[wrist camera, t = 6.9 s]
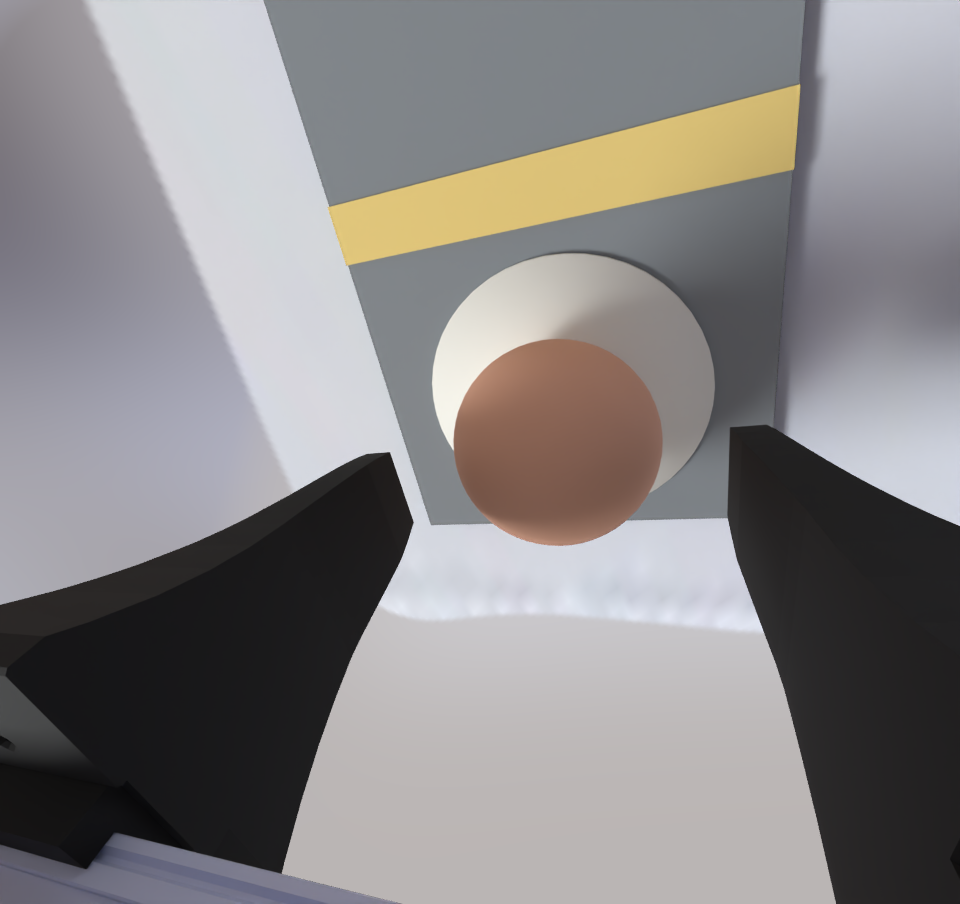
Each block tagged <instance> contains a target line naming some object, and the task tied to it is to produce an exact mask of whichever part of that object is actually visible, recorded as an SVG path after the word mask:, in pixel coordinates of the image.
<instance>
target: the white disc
mask: <svg viewBox="0 0 960 904" xmlns="http://www.w3.org/2000/svg"><path fill="white" fill-rule="evenodd" d="M548 339H570V340H576V341H581V342H586V343H589V344H592V345H595V346H598V347H600V348H602V349H604V350H606V351H609V352H610V353H612V354H614V355H615V356H617V357H618V358H620V359H621V360H622V361H624V362H625V363H626V364H627V365H628V366H629V367H631V368H632V370H633V371H634V372H635V373H636V374H637V375H638V376H639V377H640V379H641V380H642V381H643V382H644V384H645V385H646V387H647V388H648V390H649V391H650V393H651V396H652V398H653V400H654V402H655V404H656V407H657V410H658V414H659V417H660V421H661V427H662V436H663V446H662V457H661V462H660V467H659V471H658V474H657V477H656V480H655V482H654V485H653V486H652V488H651V490H650V492H649V493H651V492H652V491H654V490H656V489H657V488H659V487H660V486H661V485H663V484H664V483H665V482H667V481H668V480H669V479H671V478H672V477H673V476H674V475H675V474H676V473H677V472H678V471H679V470H680V469H681V468H682V467H683V466H684V465H685V463H686V462H687V461H688V460H689V458H690V457H691V456H692V454H693V453H694V452H695V450H696V448H697V446H698V445H699V443H700V441H701V440H702V438H703V435H704V433H705V430H706V428H707V426H708V423H709V420H710V416H711V412H712V408H713V403H714V391H715V379H714V367H713V362H712V358H711V353H710V349H709V346H708V344H707V341H706V339H705V337H704V334H703V332H702V329H701V328H700V326H699V324H698V323H697V321H696V319H695V318H694V316H693V314H692V313H691V311H690V310H689V309H688V308H687V306H686V305H685V304H684V303H683V302H682V300H681V299H680V298H679V297H678V296H677V295H676V294H675V293H674V292H673V291H672V290H671V289H669V288H668V287H667V286H666V285H665V284H664V283H663V282H661V281H660V280H658V279H656V278H655V277H653V276H652V275H650V274H649V273H647V272H646V271H644V270H642V269H639V268H637V267H635V266H633V265H631V264H629V263H626V262H623V261H620V260H617V259H613V258H610V257H607V256H600V255H594V254H587V253H560V254H552V255H544V256H540V257H536V258H532V259H529V260H525V261H522V262H520V263H518V264H515V265H513V266H510V267H508V268H506V269H504V270H502V271H501V272H499V273H497V274H496V275H494V276H492V277H491V278H489V279H488V280H486V281H485V282H484V283H483V284H481V285H480V286H479V287H478V288H476V289H475V290H474V291H473V292H472V293H471V294H470V295H469V296H468V297H467V298H466V299H465V300H464V301H463V302H462V304H461V305H460V306H459V307H458V309H457V310H456V311H455V313H454V314H453V316H452V317H451V319H450V320H449V322H448V324H447V326H446V328H445V330H444V332H443V334H442V336H441V339H440V342H439V344H438V347H437V350H436V355H435V360H434V365H433V376H432V389H433V400H434V405H435V410H436V414H437V417H438V420H439V423H440V426H441V429H442V431H443V433H444V435H445V437H446V439H447V441H448V443H449V444H450V446H451V447H452V449H453V450H454V444H453V438H454V428H455V422H456V418H457V414H458V410H459V408H460V406H461V403H462V401H463V399H464V396H465V394H466V393H467V391H468V389H469V388H470V386H471V384H472V383H473V382H474V381H475V379H476V378H477V377H478V376H479V374H480V373H481V372H482V371H483V370H484V369H485V368H486V367H487V366H488V365H489V364H490V363H492V362H493V361H494V360H496V359H497V358H499V357H500V356H502V355H503V354H505V353H507V352H509V351H511V350H513V349H515V348H517V347H519V346H522V345H525V344H527V343H530V342H535V341H540V340H548Z"/></svg>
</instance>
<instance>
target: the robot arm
mask: <svg viewBox="0 0 960 904" xmlns="http://www.w3.org/2000/svg"><path fill="white" fill-rule="evenodd" d="M727 516H728V521H729V526H730V530H731V535H732V540H733V544H734V549H735V553H736V557H737V561H738V564H739V566H740V569H741V572H742V575H743V577H744V580H745V583H746V585H747V588H748V591H749V593H750V596H751V599H752V601H753V604H754V607H755V609H756V612H757V615H758V617H759V620H760V623H761V625H762V628H763V631H764V633H765V636H766V639H767V641H768V644H769V647H770V649H771V652H772V655H773V657H774V660H775V663H776V665H777V668H778V671H779V675H780V677H781V681H782V683H783V687H784V689H785V694H786V697H787V701H788V705H789V709H790V713H791V717H792V720H793V724H794V728H795V732H796V736H797V740H798V744H799V748H800V752H801V756H802V760H803V764H804V768H805V772H806V776H807V780H808V784H809V788H810V793H811V797H812V801H813V805H814V809H815V813H816V817H817V821H818V826H819V830H820V834H821V839H822V843H823V848H824V852H825V856H826V861H827V865H828V870H829V874H830V878H831V883H832V887H833V891H834V896H835V900H836V904H960V526H958V525H956V524H953V523H951V522H949V521H946V520H944V519H941V518H939V517H937V516H934V515H932V514H930V513H928V512H925V511H923V510H921V509H919V508H917V507H915V506H912V505H910V504H908V503H906V502H904V501H902V500H900V499H898V498H896V497H894V496H892V495H890V494H888V493H886V492H884V491H882V490H880V489H878V488H876V487H874V486H872V485H870V484H868V483H867V482H865V481H863V480H861V479H859V478H857V477H856V476H854V475H852V474H850V473H848V472H846V471H845V470H843V469H841V468H839V467H838V466H836V465H834V464H832V463H831V462H829V461H827V460H826V459H824V458H822V457H821V456H819V455H817V454H816V453H814V452H812V451H811V450H809V449H807V448H806V447H804V446H802V445H801V444H799V443H797V442H796V441H794V440H793V439H791V438H789V437H788V436H786V435H784V434H783V433H781V432H779V431H778V430H776V429H774V428H772V427H770V426H768V425H754V426H741V427H730V439H729V473H728V508H727ZM413 523H414V522H413V519H412V516H411V513H410V510H409V507H408V504H407V501H406V499H405V496H404V493H403V490H402V487H401V484H400V481H399V478H398V475H397V472H396V469H395V466H394V463H393V460H392V457H391V454H390V452H387V453H374V454H366V455H363V456H361V457H358V458H356V459H354V460H352V461H350V462H348V463H346V464H344V465H342V466H340V467H338V468H336V469H335V470H333V471H331V472H329V473H328V474H326V475H324V476H322V477H320V478H319V479H317V480H315V481H313V482H312V483H310V484H308V485H306V486H305V487H303V488H301V489H300V490H298V491H296V492H294V493H293V494H291V495H289V496H287V497H286V498H284V499H282V500H280V501H278V502H276V503H274V504H272V505H271V506H269V507H267V508H265V509H263V510H261V511H259V512H258V513H256V514H254V515H252V516H250V517H248V518H246V519H244V520H242V521H240V522H238V523H236V524H234V525H232V526H230V527H228V528H226V529H224V530H222V531H220V532H217V533H215V534H213V535H211V536H209V537H206V538H204V539H202V540H200V541H197V542H195V543H193V544H190V545H188V546H185V547H183V548H180V549H178V550H175V551H172V552H170V553H167V554H164V555H162V556H160V557H157V558H154V559H152V560H149V561H147V562H144V563H141V564H139V565H136V566H133V567H130V568H127V569H124V570H121V571H118V572H115V573H112V574H109V575H106V576H103V577H100V578H97V579H93V580H90V581H87V582H83V583H80V584H77V585H74V586H70V587H67V588H63V589H60V590H56V591H53V592H49V593H45V594H41V595H37V596H33V597H30V598H25V599H22V600H18V601H14V602H10V603H6V604H2V605H0V904H400V903H397V902H392V901H388V900H384V899H380V898H376V897H372V896H368V895H364V894H360V893H356V892H352V891H348V890H344V889H340V888H336V887H332V886H328V885H324V884H320V883H316V882H312V881H308V880H304V879H300V878H296V877H292V876H288V875H284V874H282V870H283V866H284V862H285V858H286V854H287V851H288V847H289V843H290V840H291V836H292V832H293V829H294V825H295V821H296V818H297V814H298V811H299V807H300V803H301V800H302V796H303V793H304V790H305V787H306V784H307V781H308V778H309V774H310V771H311V768H312V765H313V762H314V758H315V755H316V752H317V749H318V746H319V743H320V740H321V737H322V734H323V732H324V729H325V726H326V723H327V720H328V717H329V715H330V712H331V709H332V706H333V703H334V701H335V698H336V695H337V693H338V690H339V688H340V685H341V683H342V680H343V677H344V675H345V672H346V670H347V667H348V664H349V662H350V660H351V657H352V655H353V653H354V651H355V649H356V646H357V644H358V642H359V640H360V638H361V636H362V634H363V632H364V630H365V629H366V627H367V625H368V623H369V621H370V619H371V617H372V615H373V613H374V611H375V609H376V608H377V606H378V604H379V602H380V600H381V598H382V596H383V594H384V592H385V590H386V588H387V586H388V584H389V583H390V581H391V579H392V577H393V575H394V573H395V571H396V569H397V567H398V565H399V563H400V561H401V558H402V556H403V553H404V550H405V547H406V545H407V542H408V539H409V535H410V532H411V529H412V526H413Z"/></svg>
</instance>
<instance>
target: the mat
mask: <svg viewBox="0 0 960 904" xmlns="http://www.w3.org/2000/svg"><path fill="white" fill-rule="evenodd" d="M264 3H265V6H266V9H267V13H268V16H269V19H270V22H271V25H272V28H273V31H274V35H275V38H276V41H277V44H278V47H279V50H280V53H281V56H282V60H283V63H284V66H285V69H286V72H287V75H288V78H289V82H290V85H291V88H292V91H293V94H294V97H295V100H296V103H297V107H298V110H299V113H300V116H301V119H302V122H303V125H304V129H305V132H306V135H307V138H308V141H309V144H310V147H311V150H312V154H313V157H314V160H315V163H316V166H317V169H318V172H319V176H320V179H321V182H322V185H323V188H324V191H325V194H326V198H327V201H328V204H329V207H328V210H329V213H330V216H331V219H332V222H333V225H334V229H335V232H336V235H337V238H338V241H339V244H340V247H341V250H342V253H343V257H344V260H345V263H346V266H347V265H348V266H349V270H350V273H351V276H352V279H353V282H354V285H355V288H356V292H357V295H358V298H359V301H360V304H361V307H362V310H363V313H364V317H365V320H366V323H367V326H368V329H369V332H370V335H371V339H372V342H373V345H374V348H375V351H376V354H377V357H378V360H379V364H380V367H381V370H382V373H383V376H384V379H385V382H386V386H387V389H388V392H389V395H390V398H391V401H392V404H393V407H394V411H395V414H396V417H397V420H398V423H399V426H400V429H401V433H402V436H403V439H404V442H405V445H406V448H407V451H408V454H409V458H410V461H411V464H412V467H413V470H414V473H415V476H416V480H417V483H418V486H419V489H420V492H421V495H422V498H423V501H424V505H425V508H426V511H427V514H428V517H429V520H430V523H431V525H451V524H493V523H492V522H490V521H489V520H488V519H487V518H486V517H485V516H484V515H483V514H482V513H481V512H480V511H479V509H478V508H477V507H476V506H475V505H474V503H473V502H472V501H471V499H470V498H469V496H468V495H467V493H466V491H465V489H464V487H463V485H462V482H461V480H460V477H459V474H458V471H457V468H456V463H455V458H454V450H453V449H452V447H451V446H450V444H449V443H448V441H447V439H446V437H445V435H444V433H443V431H442V429H441V426H440V423H439V420H438V417H437V414H436V410H435V405H434V400H433V389H432V376H433V365H434V360H435V355H436V350H437V347H438V344H439V342H440V339H441V336H442V334H443V332H444V330H445V328H446V326H447V324H448V322H449V320H450V319H451V317H452V316H453V314H454V313H455V311H456V310H457V309H458V307H459V306H460V305H461V304H462V302H463V301H464V300H465V299H466V298H467V297H468V296H469V295H470V294H471V293H472V292H473V291H474V290H475V289H476V288H478V287H479V286H480V285H481V284H483V283H484V282H485V281H486V280H488V279H489V278H491V277H492V276H494V275H496V274H497V273H499V272H501V271H502V270H504V269H506V268H508V267H510V266H513V265H515V264H518V263H520V262H522V261H525V260H529V259H532V258H536V257H540V256H544V255H552V254H560V253H587V254H594V255H600V256H607V257H610V258H613V259H617V260H620V261H623V262H626V263H629V264H631V265H633V266H635V267H637V268H639V269H642V270H644V271H646V272H647V273H649V274H650V275H652V276H653V277H655V278H656V279H658V280H660V281H661V282H663V283H664V284H665V285H666V286H667V287H668V288H669V289H671V290H672V291H673V292H674V293H675V294H676V295H677V296H678V297H679V298H680V299H681V300H682V302H683V303H684V304H685V305H686V306H687V308H688V309H689V310H690V311H691V313H692V314H693V316H694V318H695V319H696V321H697V323H698V324H699V326H700V328H701V329H702V332H703V334H704V337H705V339H706V341H707V344H708V346H709V349H710V353H711V358H712V362H713V367H714V379H715V391H714V403H713V408H712V412H711V416H710V420H709V423H708V426H707V428H706V430H705V433H704V435H703V438H702V440H701V441H700V443H699V445H698V446H697V448H696V450H695V452H694V453H693V454H692V456H691V457H690V458H689V460H688V461H687V462H686V463H685V465H684V466H683V467H682V468H681V469H680V470H679V471H678V472H677V473H676V474H675V475H674V476H673V477H672V478H671V479H669V480H668V481H667V482H665V483H664V484H663V485H661V486H660V487H659V488H657V489H656V490H654V491H652V492H651V493H649V494H648V495H647V497H646V499H645V500H644V502H643V503H642V504H641V506H640V507H639V508H638V510H637V511H635V512H634V513H633V514H632V515H631V516H630V517H629V518H628V519H627V520H663V519H705V518H728V516H727V508H728V473H729V439H730V427H741V426H754V425H768V426H770V427H772V428H773V426H774V412H775V399H776V386H777V372H778V359H779V345H780V332H781V319H782V305H783V292H784V279H785V265H786V252H787V239H788V225H789V212H790V198H791V185H792V172H793V170H794V164H795V151H796V138H797V125H798V112H799V98H800V85H801V84H799V78H800V65H801V51H802V38H803V25H804V11H805V0H264Z"/></svg>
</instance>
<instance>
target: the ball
mask: <svg viewBox="0 0 960 904" xmlns="http://www.w3.org/2000/svg"><path fill="white" fill-rule="evenodd" d="M453 444H454V458H455V463H456V468H457V471H458V474H459V477H460V480H461V482H462V485H463V487H464V489H465V491H466V493H467V495H468V496H469V498H470V499H471V501H472V502H473V503H474V505H475V506H476V507H477V508H478V509H479V511H480V512H481V513H482V514H483V515H484V516H485V517H486V518H487V519H488V520H489V521H490V522H492V523H493V524H494V525H496V526H497V527H498V528H500V529H502V530H503V531H505V532H507V533H508V534H511V535H513V536H515V537H517V538H520V539H523V540H526V541H529V542H533V543H537V544H543V545H555V546H563V545H574V544H579V543H584V542H587V541H591V540H593V539H596V538H598V537H601V536H603V535H605V534H607V533H609V532H611V531H612V530H614V529H616V528H617V527H619V526H620V525H621V524H623V523H624V522H625V521H626V520H627V519H628V518H629V517H630V516H631V515H632V514H633V513H634V512H635V511H637V510H638V508H639V507H640V506H641V504H642V503H643V502H644V500H645V499H646V497H647V495H648V494H649V492H650V490H651V488H652V486H653V485H654V482H655V480H656V477H657V474H658V471H659V467H660V462H661V457H662V446H663V436H662V427H661V421H660V417H659V414H658V410H657V407H656V404H655V402H654V400H653V398H652V396H651V393H650V391H649V390H648V388H647V387H646V385H645V384H644V382H643V381H642V380H641V379H640V377H639V376H638V375H637V374H636V373H635V372H634V371H633V370H632V368H631V367H629V366H628V365H627V364H626V363H625V362H624V361H622V360H621V359H620V358H618V357H617V356H615V355H614V354H612V353H610V352H609V351H606V350H604V349H602V348H600V347H598V346H595V345H592V344H589V343H586V342H581V341H576V340H570V339H548V340H540V341H535V342H530V343H527V344H525V345H522V346H519V347H517V348H515V349H513V350H511V351H509V352H507V353H505V354H503V355H502V356H500V357H499V358H497V359H496V360H494V361H493V362H492V363H490V364H489V365H488V366H487V367H486V368H485V369H484V370H483V371H482V372H481V373H480V374H479V376H478V377H477V378H476V379H475V381H474V382H473V383H472V384H471V386H470V388H469V389H468V391H467V393H466V394H465V396H464V399H463V401H462V403H461V406H460V408H459V410H458V414H457V418H456V422H455V428H454V438H453Z"/></svg>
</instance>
